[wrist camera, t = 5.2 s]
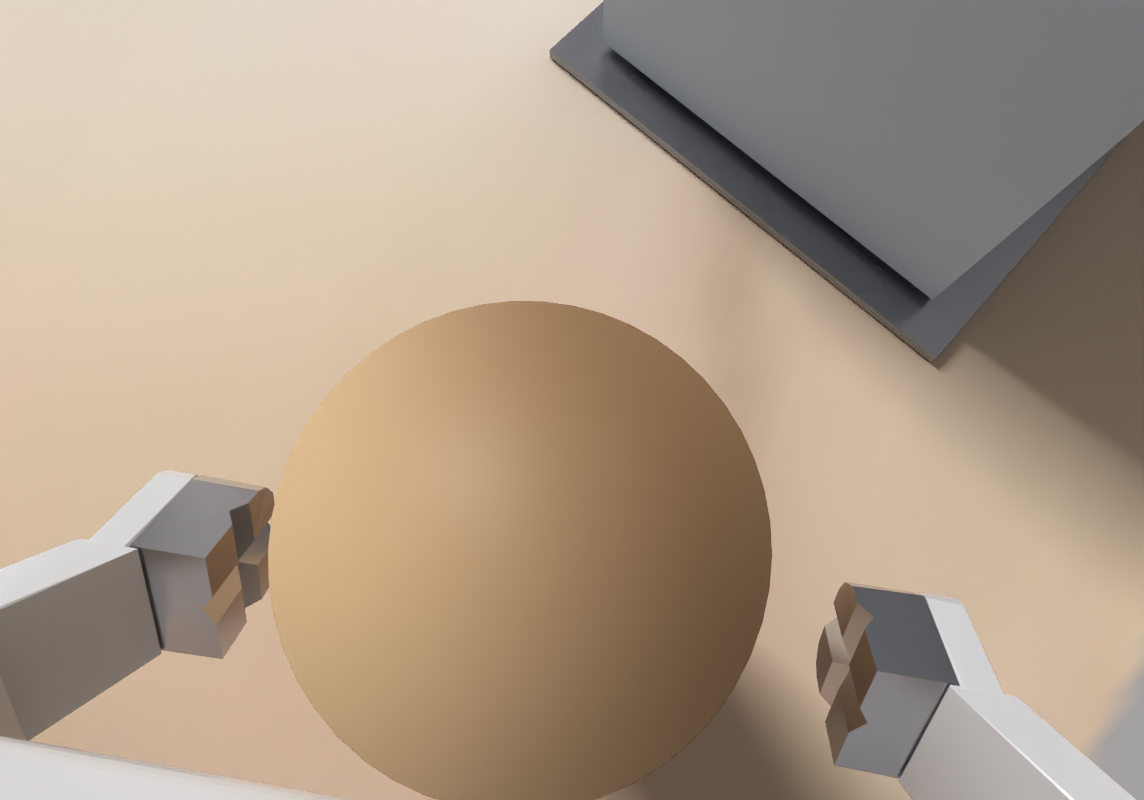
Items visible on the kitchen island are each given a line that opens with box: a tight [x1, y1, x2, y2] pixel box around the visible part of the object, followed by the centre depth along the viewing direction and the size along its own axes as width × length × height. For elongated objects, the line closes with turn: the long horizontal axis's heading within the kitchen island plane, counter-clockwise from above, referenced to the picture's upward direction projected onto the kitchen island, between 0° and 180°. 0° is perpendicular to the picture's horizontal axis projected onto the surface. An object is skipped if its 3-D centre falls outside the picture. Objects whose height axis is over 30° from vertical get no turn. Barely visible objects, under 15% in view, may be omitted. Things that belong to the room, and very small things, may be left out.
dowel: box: [268, 301, 772, 800], centre depth 12 cm, size 4×4×12 cm
